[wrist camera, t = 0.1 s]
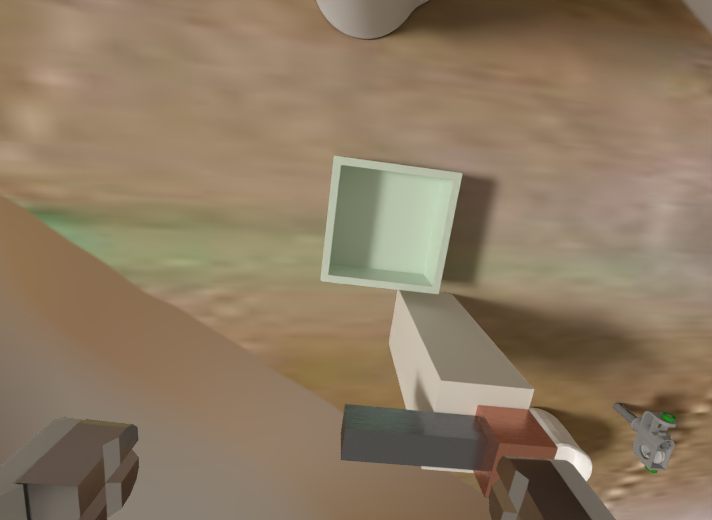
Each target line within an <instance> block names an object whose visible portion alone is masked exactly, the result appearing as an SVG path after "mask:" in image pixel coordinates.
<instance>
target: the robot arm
mask: <svg viewBox="0 0 712 520" xmlns="http://www.w3.org/2000/svg"><path fill="white" fill-rule="evenodd" d="M316 1H317V4H318V6H319V8H320V10H321V11H322V13H323V14H324V16H325V17H326V18H327V20H328V21H329V22H330V23H331V24H332V25H333V26H334V27H336V28H337V29H338V30H340V31H341V32H343V33H345V34H347V35H350V36H352V37H356V38H362V39H372V38H378V37H381V36H384V35H387V34H389V33H391V32H392V31H394V30H395V29H397V28H398V27H399V26H400V25H401V24H402V23H403V22H404V21H405V20H406V19H407V18H408V16H409V15H410V14H411V13H412V11H413V10H414V9H415V8H416V7H418V6H420V5H422V4H423V3H425V2H427V1H429V0H316ZM137 441H138V429H137V427H136V426H134V425H133V424H125V423H116V422H107V421H98V420H89V419H86V420H83V419H75V418H66V417H61V418H58V419H55V420H53V421H52V422H50V423H49V424H48V425H47V426H46V427H45V428H43V429H42V430H41V431H40V432H39V433H38V434H37V435H35V436H34V437H33V438H32V439H31V440H30V441H28V442H27V443H26V444H25V445H24V446H23V447H22V448H21V449H19V450H18V451H17V452H16V453H15V454H13V455H12V456H11V457H10V458H9V459H8V460H7V461H6V462H4V463H3V464H2V465H1V466H0V520H107V518H108V517H110V516H111V515H113V514H114V513H116V512H117V511H119V510H120V509H121V508H122V507H123V506H124V504H125V502H126V501H127V499H128V498H129V496H130V494H131V492H132V489H133V486H134V484H135V482H136V479H137V474H138V469H139V457H138V456H137V455H136V453H135V452H134V451H133V450H132V448H133V447H134V445H135V444H136V442H137ZM496 471H497V473H498V475H499V477H500V479H498V480H497V481H496V482H495V483H494V484H493V485H491V490H490V494H489V512H490V516H491V520H616V519H615V518H614V517H613V515H612V514H611V513H610V512H609V510H608V509H607V508H606V506H605V505H604V504H603V503H602V501H601V500H600V499H599V497H598V496H597V495H596V493H595V492H594V491H593V490H592V488H591V487H590V486H589V484H588V483H587V482H586V481H585V479H584V478H583V477H582V475H581V474H580V473H579V472H578V470H577V469H576V468H575V466H574V465H573V464H571V463H570V462H569V461H567V460H557V459H537V458H524V457H511V456H502V457H501V459H500V460H499V461H498V465H497V468H496Z"/></svg>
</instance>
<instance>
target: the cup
mask: <svg viewBox="0 0 712 520" xmlns="http://www.w3.org/2000/svg"><path fill="white" fill-rule="evenodd" d="M529 411H530V412H531V413H532V415H533V416H534V417H535V419H536V420H537V421H538V422H539V424H540V425H541V426H542V428H543V429H544V430H545V432H546V433H547V434H548V435H549V437H550V438H551V439H552V441H553V442H554V443H555V445H556V446H557V447H558V449H557V453H556V456H555V459H557V460H567V461H569V462H570V463H571V464H573V465H574V466H575V468H576V469H577V470H578V472H579V473H580V474H581V475H582V477H583V478H584V479H585V481H587V480H588V479H589V477H590V476H591V471H592V462H591V459H590V457H589V456H588V455H587V454H586V453H585V452H584V451H582V449H581V448H580V447H579V446H578V445H577V444H576V442H575V441H574V439H573V438H572V436H571V435H570V433H569V432H568V431H567V430H566V428H565V427H564V426H563V425H562V424H561V423H560V421H559V420H558V419H557V418H556V417H555V416H553V415H552V414H550V413H548V412H547V411H544V410H542V409H539V408H532V407H530V408H529Z"/></svg>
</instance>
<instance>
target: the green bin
mask: <svg viewBox="0 0 712 520" xmlns="http://www.w3.org/2000/svg"><path fill="white" fill-rule="evenodd" d="M462 174H463V173H457V172H450V171H443V170H435V169H428V168H421V167H413V166H406V165H399V164H391V163H384V162H377V161H369V160H362V159H354V158H347V157H340V156H334V161H333V170H332V179H331V188H330V197H329V206H328V216H327V225H326V234H325V243H324V252H323V261H322V270H321V279H320V281H325V282H333V283H342V284H351V285H360V286H369V287H378V288H387V289H396V290H405V291H414V292H423V293H432V294H439V290H440V285H441V280H442V274H443V269H444V264H445V259H446V254H447V249H448V244H449V239H450V234H451V229H452V224H453V219H454V214H455V209H456V204H457V199H458V194H459V189H460V184H461V179H462Z"/></svg>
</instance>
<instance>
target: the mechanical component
mask: <svg viewBox="0 0 712 520" xmlns="http://www.w3.org/2000/svg"><path fill="white" fill-rule="evenodd" d="M613 407H614V409H615V410H616V411H617V412H618V413H620V414H621V415H622V416H623V417H624V418H625V419H626V420H627V421H629V422H630V423H631V424H630V426H631V428H632V429H633V430H635V431H636V432H637V435H636V438H635V441H634V444H633V451H634V453H635V455H636V456H637V457H638V458H639V459H640V460H641V462H642V463H643V464H644V465H645V468H646V469H647V470H648V471H650V472H652V473H657V470H666V467H667V464H668V461H669V459H670V456H671V453H672V451H673V449H674V447H675V444H674V442H673V441H672V440H671V439H670V437H671V436H670V435H669V434H668V433H666V432H667V429H668V427H672V428H674V427H676V425H677V421H676V420H675V419H676V417H675V416H674V415H672V414H670V413H668V412H656V411H646V412H644V414H643V416H642V417H637V416H635V415H634V414H633V413H632V412H631V411H630V410H628V409H627V408H626V407H625V406H624V405H622V404H621V405H620V404H618V403H615V404H614V406H613ZM659 424H662V425H661V426H660V427H658V425H659ZM664 453H665V454H664Z"/></svg>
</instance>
